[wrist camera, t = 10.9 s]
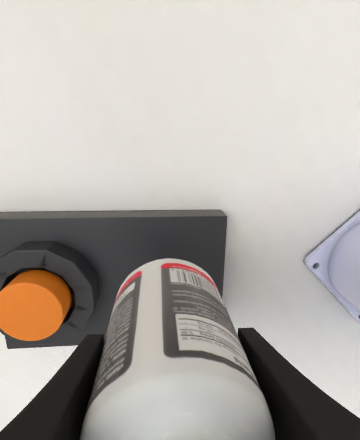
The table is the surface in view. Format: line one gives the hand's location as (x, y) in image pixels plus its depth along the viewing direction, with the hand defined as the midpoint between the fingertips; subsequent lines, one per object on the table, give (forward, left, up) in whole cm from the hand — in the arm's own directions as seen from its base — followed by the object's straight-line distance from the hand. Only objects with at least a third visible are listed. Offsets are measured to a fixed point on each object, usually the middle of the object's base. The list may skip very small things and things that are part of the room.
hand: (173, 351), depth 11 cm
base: (+1, +4, -10) cm, 11 cm away
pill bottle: (0, 0, -4) cm, 4 cm away
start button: (+5, +7, -7) cm, 11 cm away
